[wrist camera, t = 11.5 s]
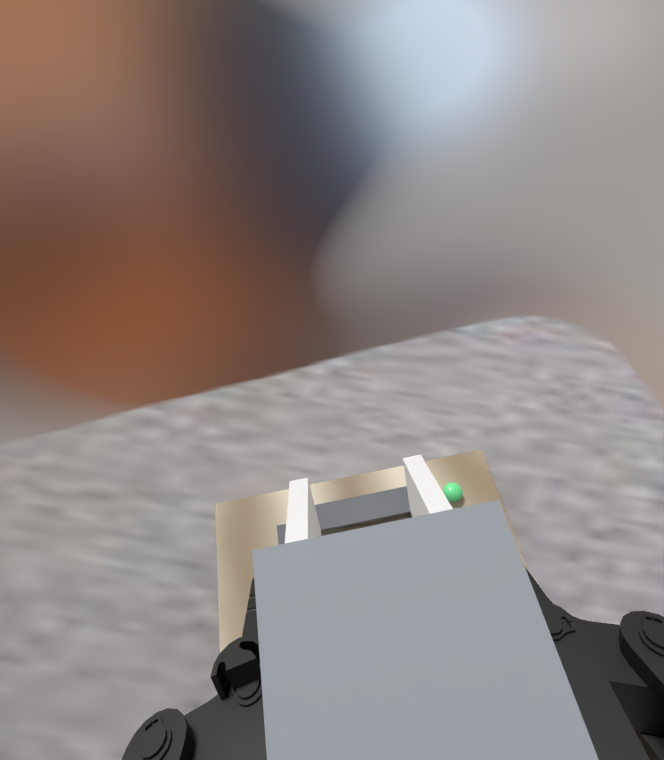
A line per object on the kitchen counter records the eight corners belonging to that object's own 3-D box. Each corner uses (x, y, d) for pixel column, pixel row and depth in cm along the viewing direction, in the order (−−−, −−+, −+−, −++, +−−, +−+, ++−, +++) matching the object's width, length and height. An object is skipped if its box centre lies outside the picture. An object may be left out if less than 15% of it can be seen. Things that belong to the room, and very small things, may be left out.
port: (305, 697, 16) (296, 720, 14) (285, 517, 20) (275, 512, 18) (515, 654, 16) (539, 670, 14) (457, 482, 20) (469, 473, 18)
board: (245, 1079, 13) (233, 1128, 12) (222, 506, 22) (215, 504, 20) (674, 986, 13) (703, 1027, 12) (475, 454, 22) (481, 449, 21)
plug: (344, 654, 16) (281, 959, 4) (328, 551, 17) (252, 550, 6) (437, 635, 16) (646, 882, 4) (410, 534, 17) (498, 499, 6)
